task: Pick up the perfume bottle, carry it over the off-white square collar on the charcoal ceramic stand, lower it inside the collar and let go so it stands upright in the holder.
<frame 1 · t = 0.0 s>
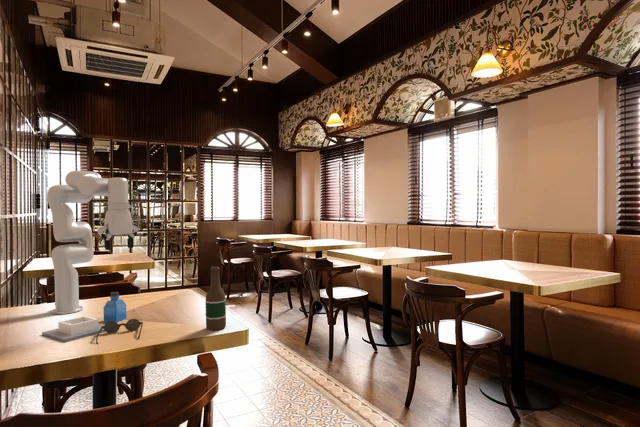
hand: (119, 248, 167), 31 cm above the table, tool pointing down, fingers open, 9 cm apart
eyeglasses: (120, 338, 150), on the table
perfume bottle: (115, 320, 174), on the table
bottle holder: (78, 332, 157), on the table
beer bottle: (216, 328, 158), on the table
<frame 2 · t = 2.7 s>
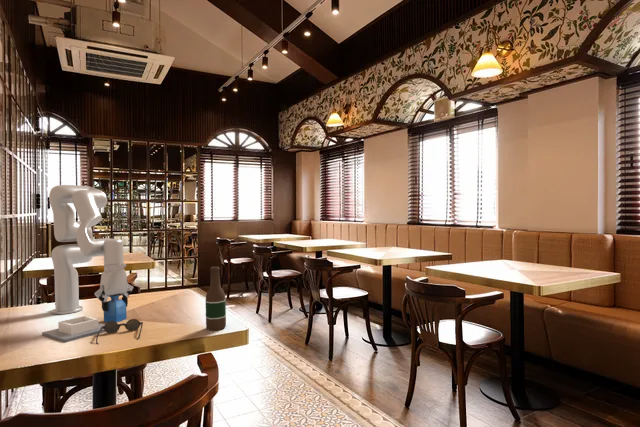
hand: (115, 308, 174), 5 cm above the table, tool pointing down, fingers closed on perfume bottle, 8 cm apart
perfume bottle: (115, 320, 174), on the table, touching gripper
everything else where it was.
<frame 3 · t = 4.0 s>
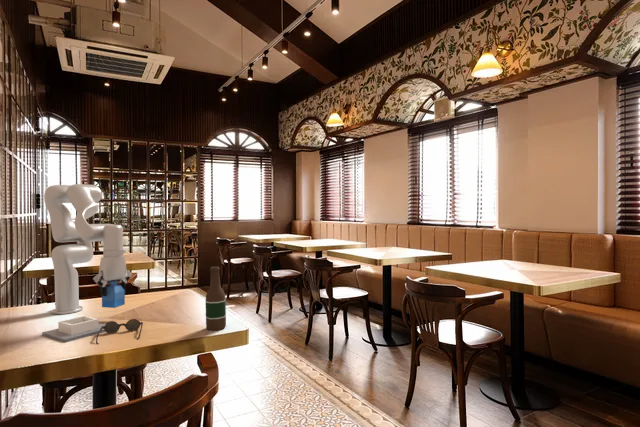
hand: (113, 293, 174), 11 cm above the table, tool pointing down, fingers closed on perfume bottle, 8 cm apart
perfume bottle: (113, 306, 174), point 6 cm above the table, touching gripper
everything else where it was.
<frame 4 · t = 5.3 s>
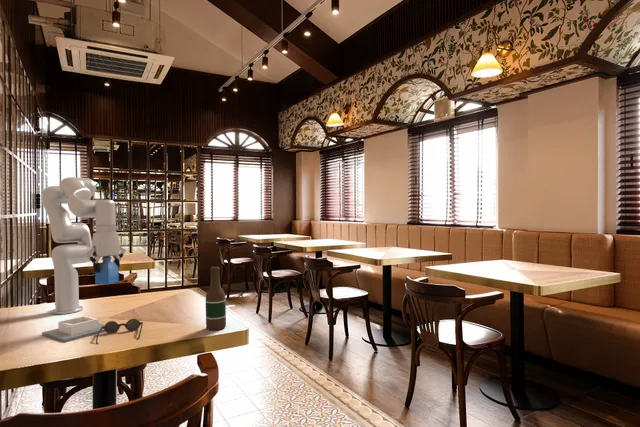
hand: (106, 270, 170), 22 cm above the table, tool pointing down, fingers closed on perfume bottle, 8 cm apart
perfume bottle: (107, 283, 170), point 17 cm above the table, touching gripper
everything else where it was.
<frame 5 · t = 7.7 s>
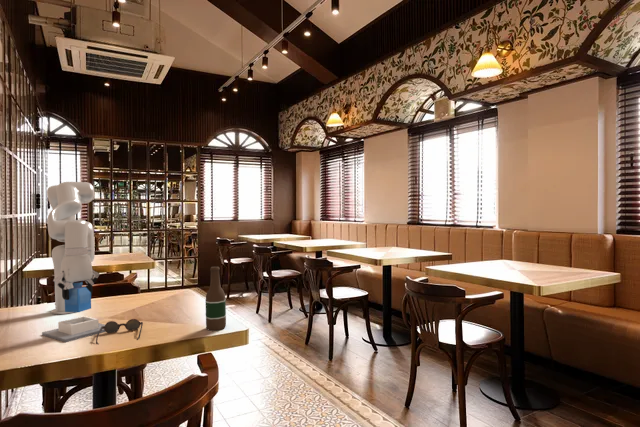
hand: (77, 297, 157), 14 cm above the table, tool pointing down, fingers closed on perfume bottle, 8 cm apart
perfume bottle: (78, 310, 157), point 8 cm above the table, touching gripper
everything else where it was.
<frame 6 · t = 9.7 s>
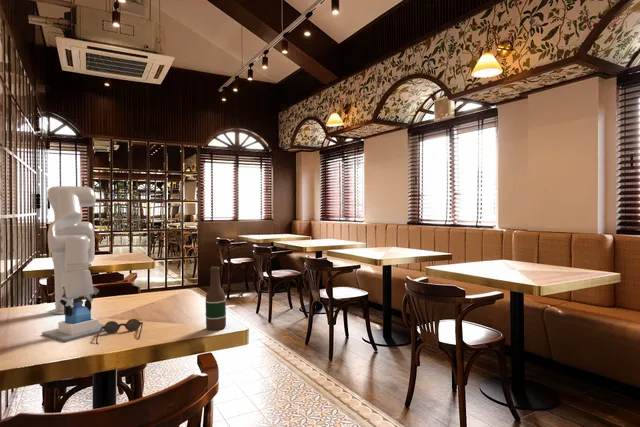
hand: (78, 313, 157), 7 cm above the table, tool pointing down, fingers closed on perfume bottle, 6 cm apart
perfume bottle: (78, 330, 157), point 1 cm above the table, touching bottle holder, gripper
everything else where it was.
when the fingers open (7 cm above the table, at t = 9.8 s): perfume bottle stays where it is, resting on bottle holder.
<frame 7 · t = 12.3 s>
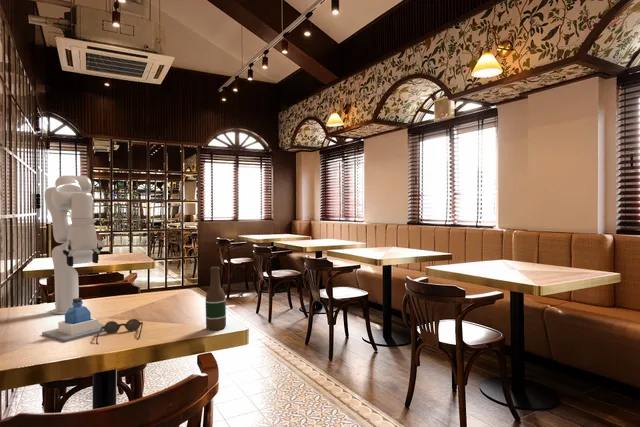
hand: (83, 264, 165), 25 cm above the table, tool pointing down, fingers open, 9 cm apart
perfume bottle: (78, 330, 157), point 1 cm above the table, touching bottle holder
everything else where it was.
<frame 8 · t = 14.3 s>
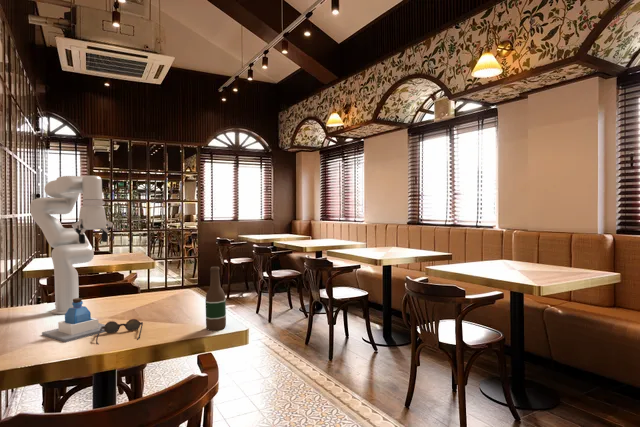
hand: (93, 242, 178), 33 cm above the table, tool pointing down, fingers open, 9 cm apart
nothing on the table moved.
at the end: perfume bottle 0.2 cm from the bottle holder (horizontally); perfume bottle point 0.8 cm above the table; perfume bottle tilted 0° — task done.
